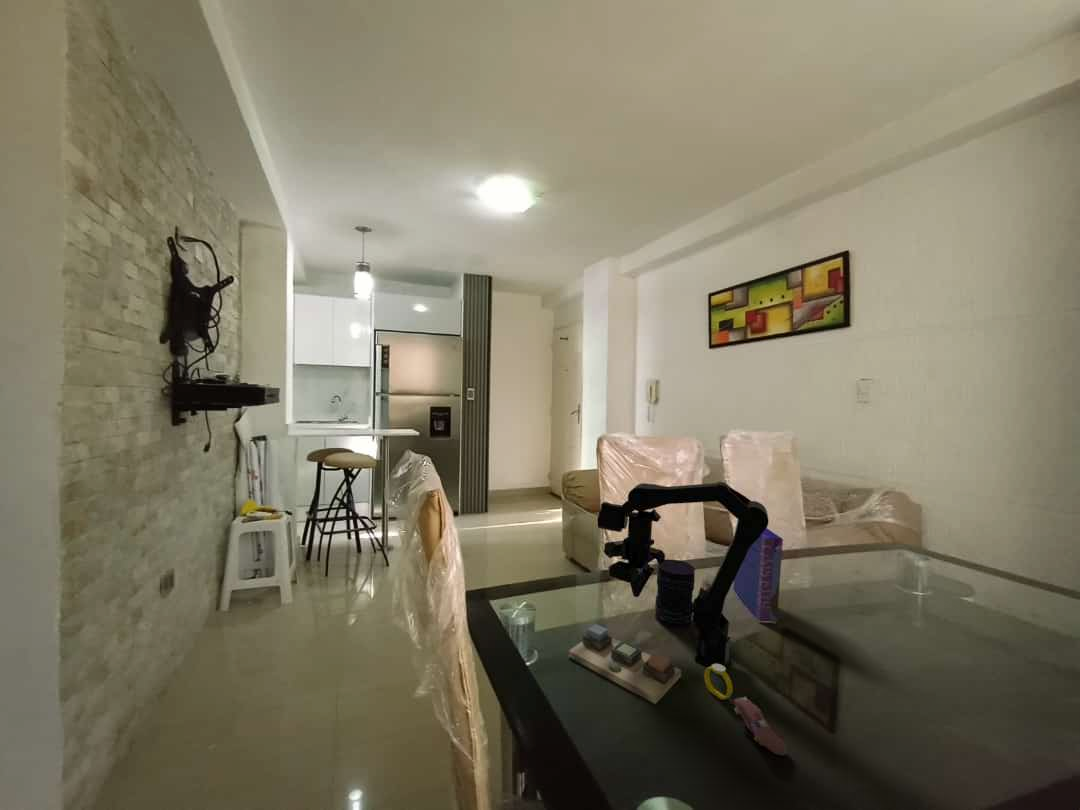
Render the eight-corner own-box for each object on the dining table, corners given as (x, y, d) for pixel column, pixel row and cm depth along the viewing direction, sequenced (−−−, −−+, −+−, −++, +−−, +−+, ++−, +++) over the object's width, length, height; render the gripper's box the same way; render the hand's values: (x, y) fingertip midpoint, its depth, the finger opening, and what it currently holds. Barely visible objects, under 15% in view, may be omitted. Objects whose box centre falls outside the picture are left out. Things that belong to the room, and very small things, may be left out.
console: (680, 676, 100) (681, 661, 100) (655, 704, 91) (656, 687, 91) (597, 636, 114) (598, 623, 114) (568, 656, 105) (569, 642, 105)
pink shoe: (739, 724, 89) (725, 693, 88) (759, 713, 89) (746, 683, 88) (768, 767, 79) (754, 733, 78) (791, 755, 79) (777, 721, 79)
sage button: (636, 657, 104) (637, 649, 104) (629, 664, 101) (629, 655, 101) (623, 651, 106) (624, 643, 106) (615, 657, 103) (616, 649, 103)
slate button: (607, 637, 109) (607, 629, 109) (599, 643, 106) (599, 634, 106) (595, 631, 111) (595, 623, 111) (587, 637, 109) (587, 629, 108)
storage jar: (696, 617, 126) (699, 565, 125) (686, 633, 118) (690, 577, 117) (660, 607, 131) (663, 556, 130) (649, 621, 123) (652, 567, 122)
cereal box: (776, 623, 125) (782, 538, 123) (759, 623, 125) (765, 537, 123) (748, 594, 142) (753, 518, 141) (733, 593, 142) (738, 518, 141)
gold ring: (701, 690, 96) (701, 661, 96) (710, 685, 98) (710, 658, 98) (726, 705, 91) (726, 676, 91) (734, 701, 93) (734, 671, 93)
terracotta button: (669, 667, 98) (670, 658, 98) (662, 674, 96) (663, 665, 96) (655, 660, 101) (655, 651, 100) (648, 667, 98) (648, 658, 98)
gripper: (629, 520, 125) (626, 575, 126) (591, 535, 111) (588, 598, 112) (667, 530, 118) (663, 588, 119) (632, 548, 104) (628, 614, 104)
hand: (636, 596), depth 113 cm, fingers closed
